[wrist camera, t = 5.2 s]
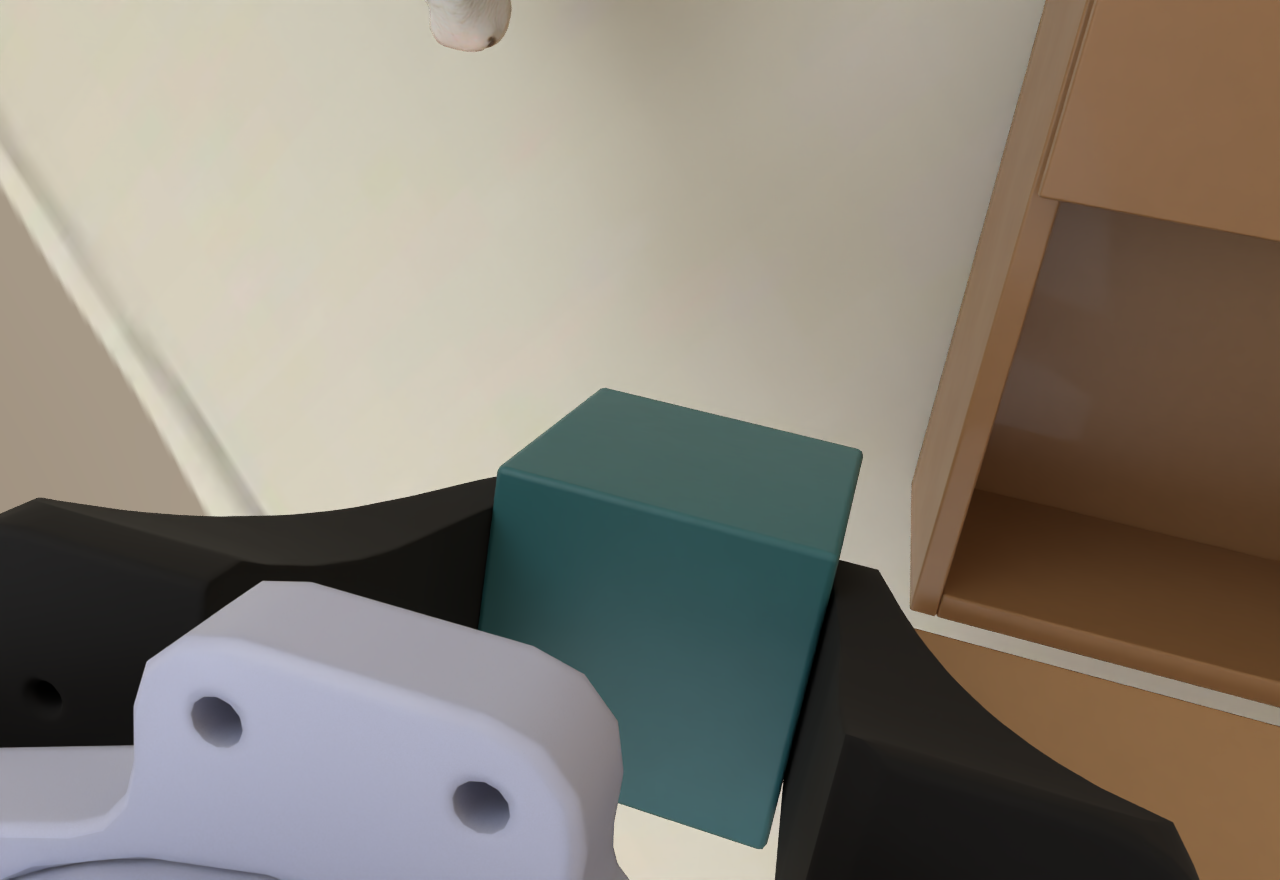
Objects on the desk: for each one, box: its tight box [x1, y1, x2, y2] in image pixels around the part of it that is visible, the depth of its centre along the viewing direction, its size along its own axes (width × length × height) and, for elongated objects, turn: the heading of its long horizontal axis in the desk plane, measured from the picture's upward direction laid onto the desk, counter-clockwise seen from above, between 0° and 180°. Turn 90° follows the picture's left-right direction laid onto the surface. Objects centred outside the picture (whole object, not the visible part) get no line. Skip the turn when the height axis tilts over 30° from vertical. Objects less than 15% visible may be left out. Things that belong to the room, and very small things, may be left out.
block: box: [478, 388, 863, 849], centre depth 14 cm, size 4×4×4 cm
